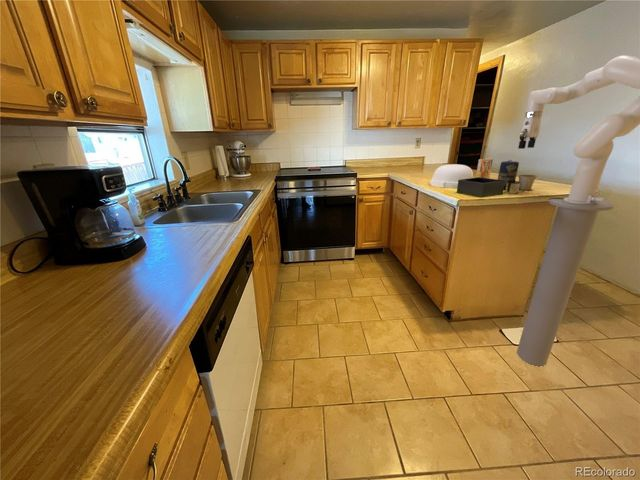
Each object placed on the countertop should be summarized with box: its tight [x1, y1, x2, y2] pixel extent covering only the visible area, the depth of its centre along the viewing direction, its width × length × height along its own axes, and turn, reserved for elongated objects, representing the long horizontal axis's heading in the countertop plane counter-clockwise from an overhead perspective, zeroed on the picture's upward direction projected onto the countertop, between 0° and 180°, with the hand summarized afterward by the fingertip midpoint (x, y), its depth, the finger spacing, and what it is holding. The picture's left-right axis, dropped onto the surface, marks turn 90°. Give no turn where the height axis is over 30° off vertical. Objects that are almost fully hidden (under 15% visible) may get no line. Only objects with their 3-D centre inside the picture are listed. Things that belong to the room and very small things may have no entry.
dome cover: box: [429, 163, 474, 189], centre depth 192 cm, size 32×30×14 cm
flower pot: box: [517, 174, 538, 191], centre depth 166 cm, size 9×9×9 cm
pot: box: [504, 179, 521, 195], centre depth 159 cm, size 7×7×7 cm
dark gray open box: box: [456, 177, 505, 198], centre depth 162 cm, size 18×18×8 cm
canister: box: [497, 159, 520, 190], centre depth 169 cm, size 10×10×18 cm
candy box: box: [475, 158, 494, 179], centre depth 208 cm, size 9×4×15 cm, turn 91°
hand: (526, 148), depth 153 cm, fingers open, 9 cm apart
